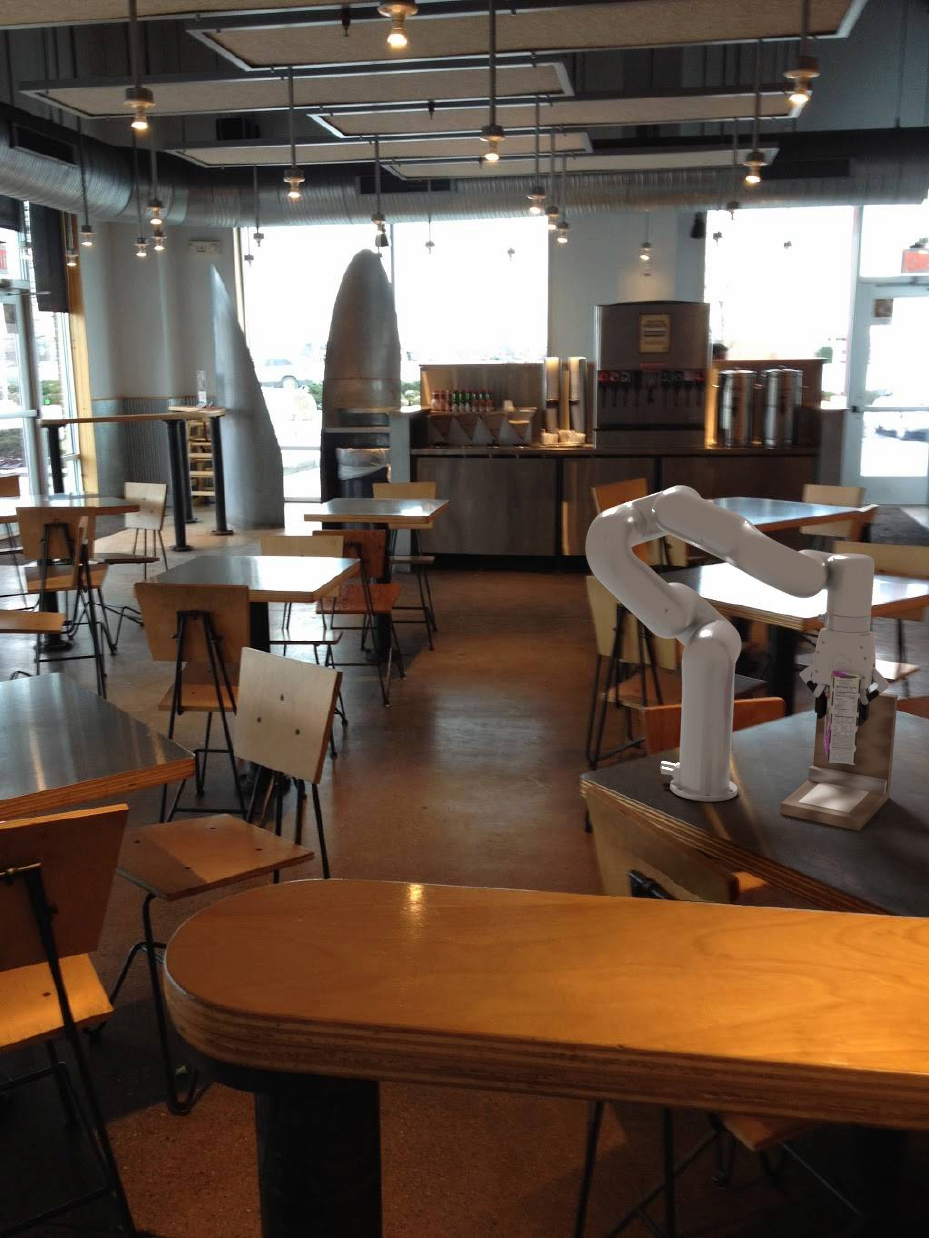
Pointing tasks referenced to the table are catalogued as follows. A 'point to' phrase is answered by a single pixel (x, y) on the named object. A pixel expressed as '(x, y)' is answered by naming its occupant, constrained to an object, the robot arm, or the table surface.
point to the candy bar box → (842, 718)
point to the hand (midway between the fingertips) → (840, 719)
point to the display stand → (850, 773)
